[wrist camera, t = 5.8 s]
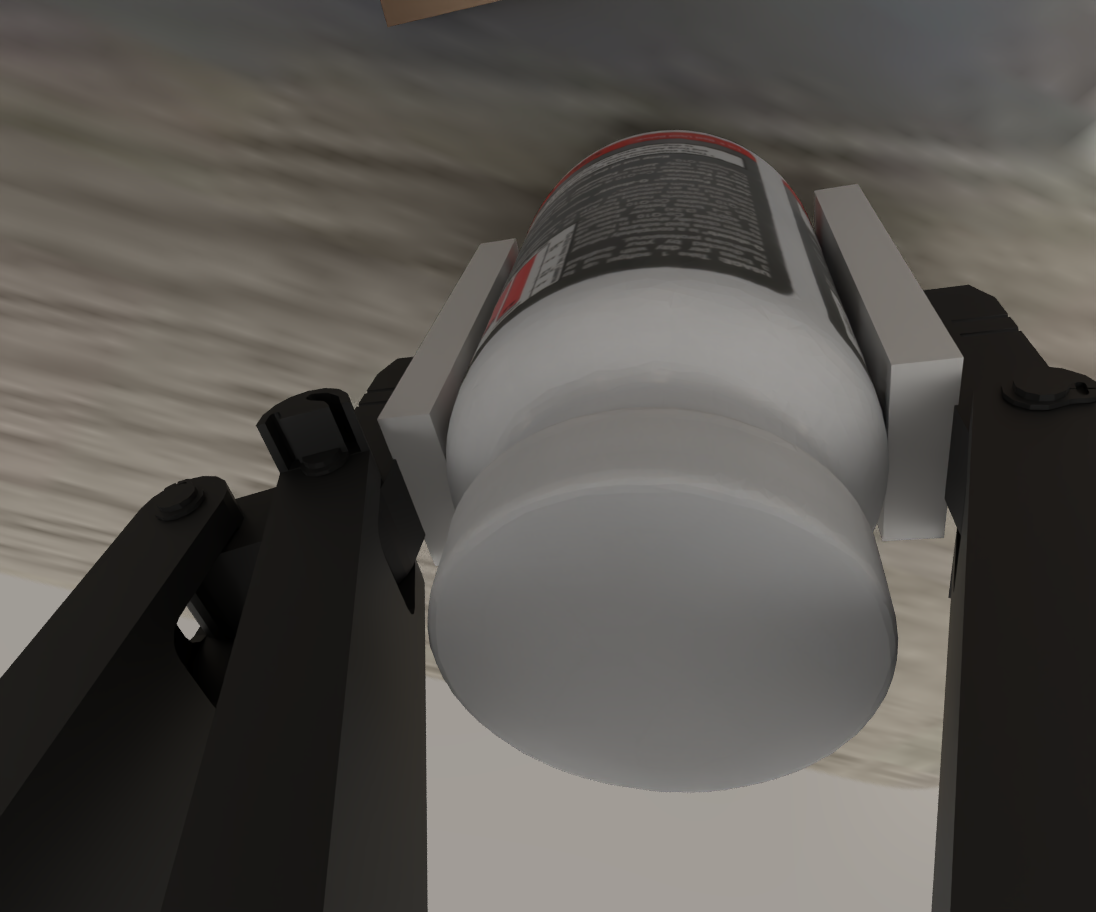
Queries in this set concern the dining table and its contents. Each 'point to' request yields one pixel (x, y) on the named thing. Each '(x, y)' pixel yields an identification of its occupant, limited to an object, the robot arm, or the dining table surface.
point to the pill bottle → (667, 484)
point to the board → (423, 9)
